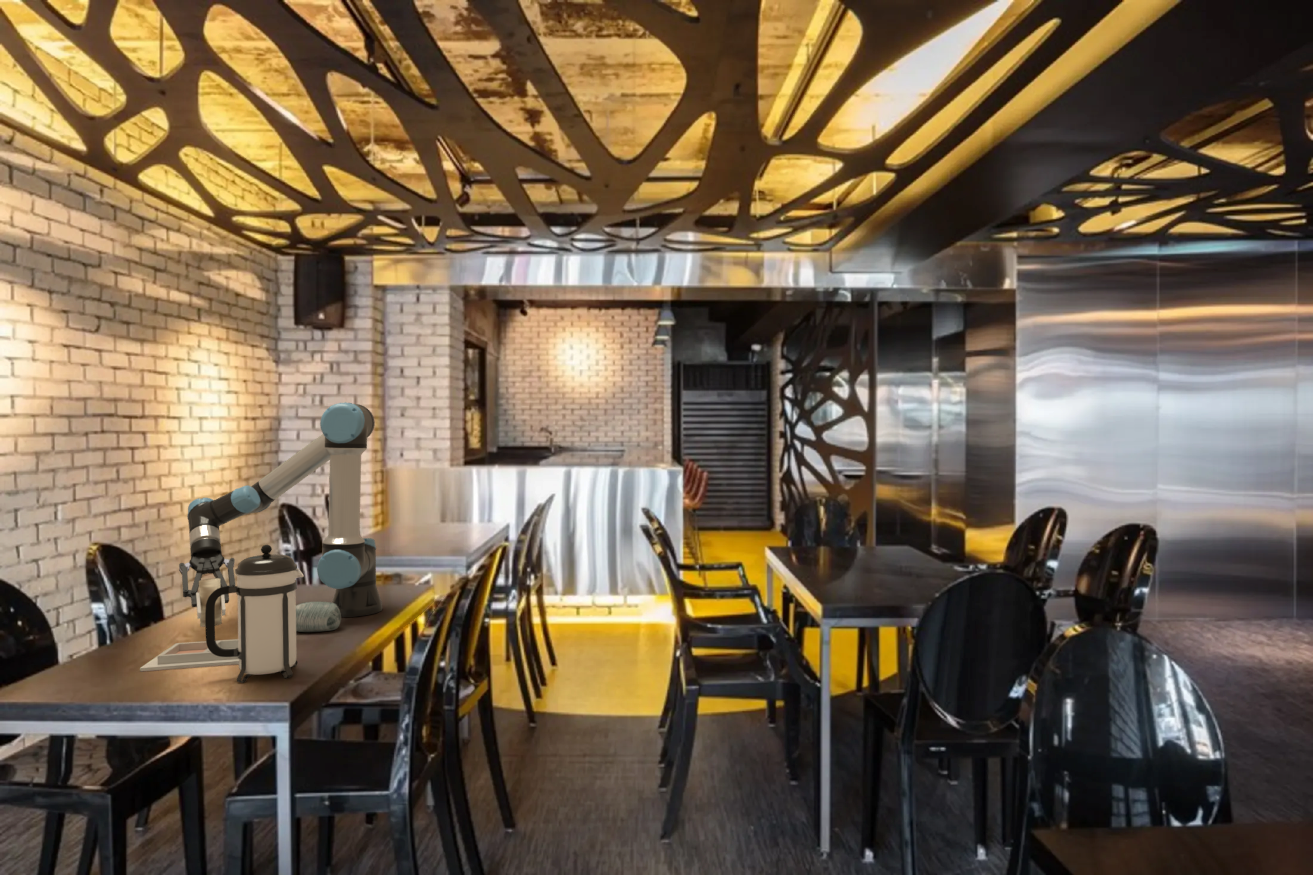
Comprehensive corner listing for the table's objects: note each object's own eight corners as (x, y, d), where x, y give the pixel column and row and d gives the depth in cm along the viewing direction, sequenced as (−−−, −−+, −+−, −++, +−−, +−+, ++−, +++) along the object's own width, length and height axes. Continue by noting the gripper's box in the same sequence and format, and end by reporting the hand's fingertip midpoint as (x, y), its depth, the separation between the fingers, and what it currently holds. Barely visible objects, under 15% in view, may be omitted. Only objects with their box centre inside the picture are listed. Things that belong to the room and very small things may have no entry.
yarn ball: (350, 613, 227) (335, 587, 222) (340, 636, 218) (324, 609, 214) (307, 624, 228) (290, 598, 223) (295, 647, 219) (278, 621, 215)
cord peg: (224, 621, 213) (222, 577, 213) (218, 625, 208) (216, 581, 208) (203, 623, 212) (202, 579, 212) (197, 627, 207) (196, 582, 207)
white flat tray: (276, 645, 205) (276, 634, 205) (260, 662, 190) (260, 651, 190) (166, 653, 199) (165, 642, 199) (140, 671, 184) (139, 659, 184)
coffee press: (275, 660, 191) (273, 538, 191) (317, 670, 183) (315, 542, 183) (204, 680, 176) (202, 547, 176) (245, 691, 168) (243, 552, 168)
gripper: (240, 550, 228) (248, 617, 214) (168, 557, 218) (171, 627, 204) (242, 533, 223) (250, 600, 209) (168, 540, 213) (171, 610, 200)
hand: (211, 613), depth 207 cm, fingers closed on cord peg, 5 cm apart
